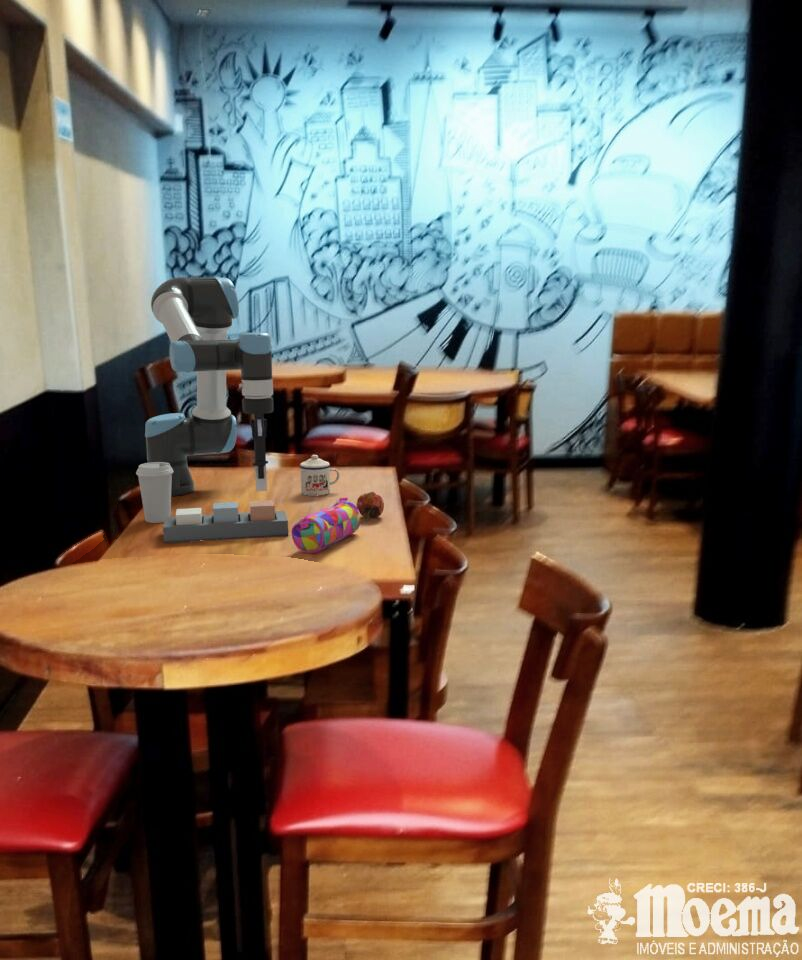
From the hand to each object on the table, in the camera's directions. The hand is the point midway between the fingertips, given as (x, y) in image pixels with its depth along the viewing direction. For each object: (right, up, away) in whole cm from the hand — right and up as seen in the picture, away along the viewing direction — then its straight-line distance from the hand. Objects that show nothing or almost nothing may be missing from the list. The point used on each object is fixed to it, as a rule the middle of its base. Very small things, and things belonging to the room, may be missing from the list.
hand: (261, 490), depth 215 cm
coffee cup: (-30, -8, +15) cm, 34 cm away
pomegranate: (+27, -8, +16) cm, 32 cm away
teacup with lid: (+11, -2, +45) cm, 46 cm away
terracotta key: (0, -8, +2) cm, 8 cm away
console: (-9, -11, +1) cm, 14 cm away
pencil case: (+17, -13, -7) cm, 22 cm away
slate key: (-9, -8, 0) cm, 12 cm away
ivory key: (-18, -10, -1) cm, 20 cm away
